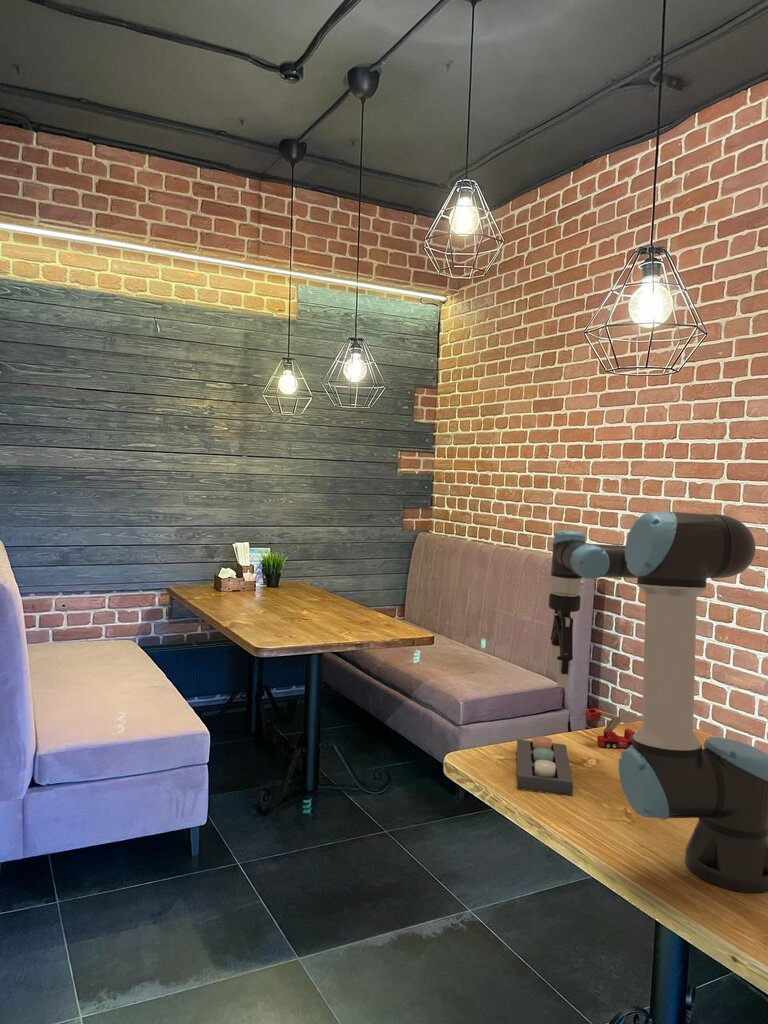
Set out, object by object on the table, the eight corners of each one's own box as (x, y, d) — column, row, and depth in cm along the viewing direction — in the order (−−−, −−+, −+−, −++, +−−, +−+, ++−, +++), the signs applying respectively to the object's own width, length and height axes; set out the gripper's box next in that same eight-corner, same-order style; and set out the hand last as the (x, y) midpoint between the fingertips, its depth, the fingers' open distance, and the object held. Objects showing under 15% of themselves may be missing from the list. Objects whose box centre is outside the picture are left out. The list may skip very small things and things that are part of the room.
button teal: (553, 768, 177) (554, 755, 177) (533, 765, 177) (534, 753, 177) (552, 761, 181) (553, 748, 181) (532, 758, 182) (533, 746, 182)
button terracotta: (551, 755, 185) (552, 743, 184) (532, 753, 185) (533, 741, 185) (550, 749, 189) (551, 737, 189) (531, 747, 190) (532, 735, 190)
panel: (572, 795, 167) (573, 782, 167) (517, 789, 169) (518, 775, 168) (564, 756, 190) (565, 744, 190) (516, 750, 192) (517, 739, 192)
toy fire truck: (638, 749, 198) (641, 713, 198) (587, 748, 197) (589, 711, 197) (633, 745, 202) (636, 709, 201) (583, 743, 201) (585, 707, 200)
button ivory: (555, 781, 169) (556, 768, 169) (534, 779, 170) (535, 766, 169) (554, 773, 173) (555, 761, 173) (533, 771, 174) (534, 758, 174)
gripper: (589, 603, 173) (582, 695, 174) (572, 586, 198) (566, 666, 199) (556, 601, 173) (549, 692, 175) (543, 584, 198) (537, 664, 200)
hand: (558, 678), depth 187 cm, fingers open, 13 cm apart
